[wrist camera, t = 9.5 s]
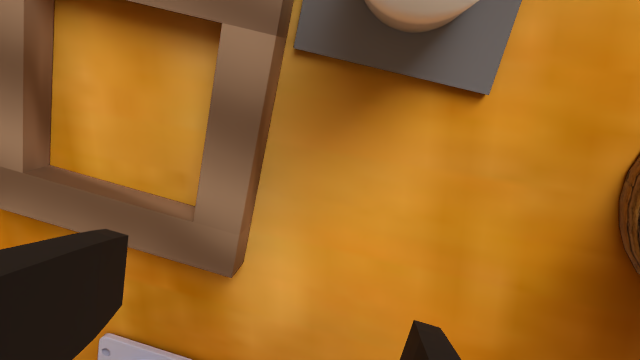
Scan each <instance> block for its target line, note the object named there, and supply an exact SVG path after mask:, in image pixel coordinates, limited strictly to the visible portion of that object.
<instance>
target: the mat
mask: <svg viewBox="0 0 640 360" xmlns="http://www.w3.org/2000/svg"><path fill="white" fill-rule="evenodd" d="M521 1H522V0H479V1H478V2H476V3H475V4H474V5H472V6H471V7H470V8H468V9H467V10H466V11H464V12H463V13H462V14H460V15H459V16H457V17H456V18H455V19H453V20H452V21H451V22H449V23H447V24H446V25H444V26H442V27H440V28H437V29H435V30H431V31H427V32H421V33H409V32H403V31H399V30H396V29H393V28H391V27H389V26H387V25H386V24H384V23H382V22H381V21H380V20H379V19H377V18H376V17H375V15H374V14H373V13H372V12H371V11H370V9H369V8H368V7H367V5H366V3H365V1H364V0H303V3H302V8H301V13H300V18H299V23H298V28H297V33H296V38H295V43H294V48H295V49H299V50H303V51H308V52H312V53H316V54H320V55H324V56H328V57H332V58H337V59H341V60H345V61H349V62H353V63H357V64H362V65H366V66H370V67H374V68H378V69H382V70H387V71H391V72H395V73H399V74H403V75H407V76H411V77H416V78H420V79H424V80H428V81H432V82H436V83H441V84H445V85H449V86H453V87H457V88H461V89H465V90H470V91H474V92H478V93H482V94H486V95H489V93H490V90H491V87H492V84H493V82H494V79H495V76H496V73H497V70H498V67H499V64H500V61H501V59H502V56H503V53H504V50H505V47H506V44H507V41H508V38H509V36H510V33H511V30H512V27H513V24H514V21H515V18H516V15H517V13H518V10H519V7H520V4H521Z"/></svg>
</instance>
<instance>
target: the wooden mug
mask: <svg viewBox="0 0 640 360" xmlns="http://www.w3.org/2000/svg"><path fill="white" fill-rule="evenodd" d="M619 228H620V232H621V236H622V240H623V244H624V248H625V250H626V252H627V254H628V256H629V258H630V260H631V262H632V264H633V266H634V268H635V270H636V272H637V273H638V274H639V275H640V156H639V158H638V159H637V160H636V162H635V163H634V165H633V166H632V167H631V169H630V170H629V172H628V174H627V177H626V180H625V183H624V186H623V190H622V193H621V196H620V209H619Z"/></svg>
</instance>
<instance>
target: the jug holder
mask: <svg viewBox="0 0 640 360" xmlns="http://www.w3.org/2000/svg"><path fill="white" fill-rule="evenodd" d="M127 1H131V2H135V3H139V4H143V5H148V6H152V7H156V8H160V9H164V10H169V11H173V12H177V13H181V14H185V15H190V16H194V17H198V18H202V19H206V20H211V21H215V22H219V23H222V28H221V35H220V42H219V49H218V56H217V63H216V69H215V76H214V83H213V90H212V97H211V104H210V111H209V118H208V124H207V131H206V138H205V145H204V152H203V159H202V166H201V172H200V179H199V186H198V193H197V200H196V207H195V206H191V205H188V204H184V203H181V202H177V201H174V200H170V199H167V198H163V197H160V196H156V195H153V194H149V193H146V192H142V191H139V190H135V189H132V188H128V187H125V186H121V185H118V184H114V183H111V182H107V181H104V180H100V179H97V178H93V177H90V176H86V175H83V174H79V173H75V172H72V171H68V170H65V169H61V168H58V167H54V166H51V165H49V163H50V128H51V94H52V59H53V24H54V0H0V209H3V210H6V211H10V212H13V213H16V214H20V215H23V216H26V217H30V218H33V219H36V220H40V221H43V222H46V223H50V224H53V225H56V226H60V227H63V228H66V229H70V230H73V231H77V232H80V233H81V232H87V231H92V230H100V229H109V230H112V231H116V232H119V233H122V234H126V235H129V236H128V247H130V248H133V249H137V250H140V251H143V252H147V253H150V254H153V255H157V256H160V257H163V258H167V259H170V260H173V261H177V262H180V263H183V264H187V265H190V266H193V267H197V268H200V269H203V270H207V271H210V272H213V273H217V274H220V275H223V276H227V277H230V278H232V277H233V275H234V274H235V273H236V271H237V270H238V269H239V267H240V266H241V265H242V263H243V261H244V256H245V251H246V246H247V241H248V235H249V230H250V225H251V220H252V215H253V209H254V204H255V199H256V194H257V189H258V183H259V178H260V173H261V168H262V162H263V157H264V152H265V147H266V142H267V136H268V131H269V126H270V121H271V116H272V110H273V105H274V100H275V95H276V90H277V84H278V79H279V74H280V69H281V64H282V58H283V53H284V48H285V43H286V38H287V32H288V27H289V22H290V17H291V11H292V6H293V1H294V0H127Z"/></svg>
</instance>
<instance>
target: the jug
mask: <svg viewBox="0 0 640 360" xmlns="http://www.w3.org/2000/svg"><path fill="white" fill-rule="evenodd" d="M364 1H365V3H366V5H367V7H368V8H369V9H370V11H371V12H372V13H373V14H374V15H375V17H376V18H377V19H379V20H380V21H381V22H382V23H384V24H386V25H387V26H389V27H391V28H393V29H396V30H399V31H403V32H409V33H421V32H427V31H431V30H435V29H437V28H440V27H442V26H444V25H446V24H447V23H449V22H451V21H452V20H453V19H455V18H456V17H457V16H459V15H460V14H462V13H463V12H464V11H466V10H467V9H468V8H470V7H471V6H472V5H474V4H475V3H476V2H478V1H479V0H364Z"/></svg>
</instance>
